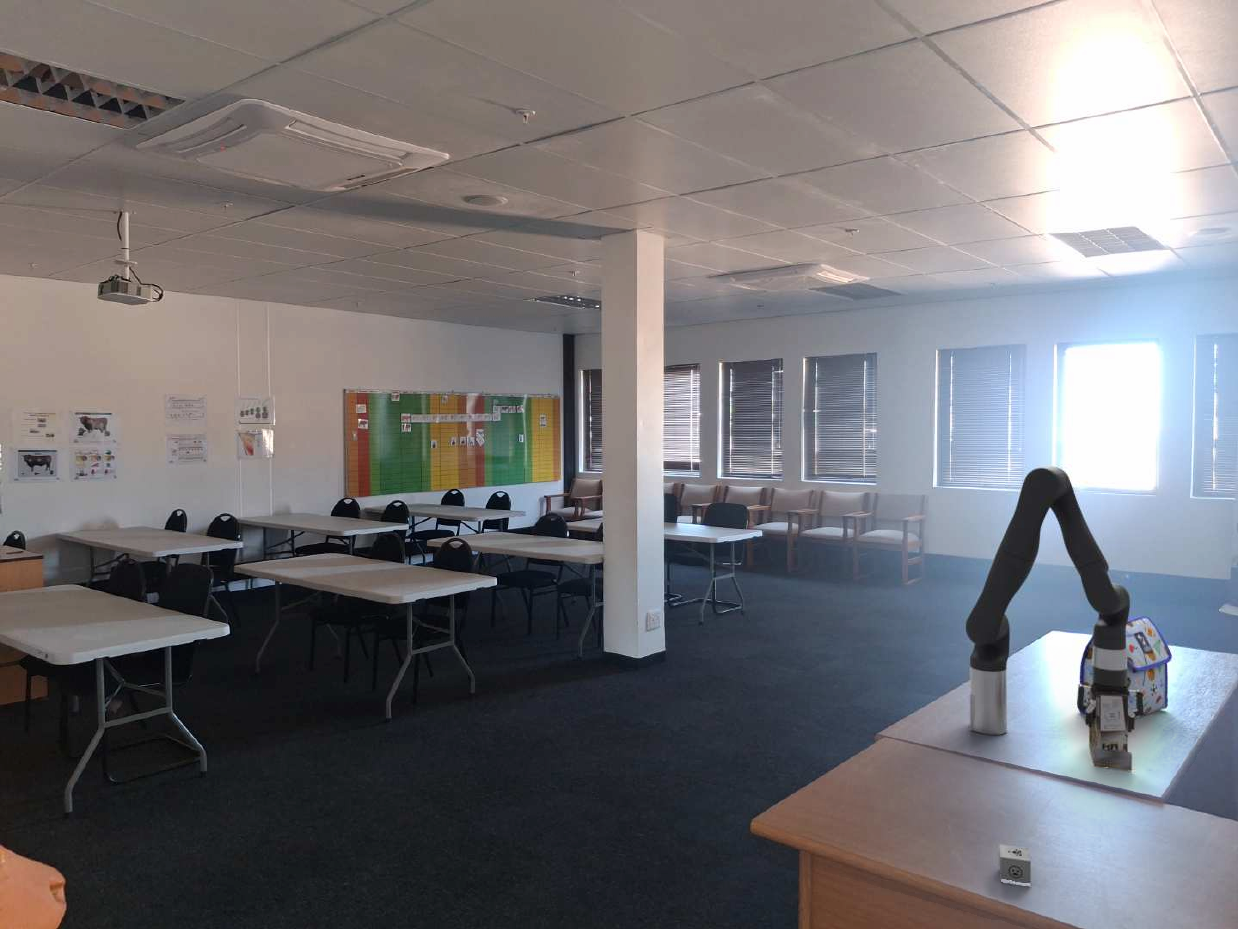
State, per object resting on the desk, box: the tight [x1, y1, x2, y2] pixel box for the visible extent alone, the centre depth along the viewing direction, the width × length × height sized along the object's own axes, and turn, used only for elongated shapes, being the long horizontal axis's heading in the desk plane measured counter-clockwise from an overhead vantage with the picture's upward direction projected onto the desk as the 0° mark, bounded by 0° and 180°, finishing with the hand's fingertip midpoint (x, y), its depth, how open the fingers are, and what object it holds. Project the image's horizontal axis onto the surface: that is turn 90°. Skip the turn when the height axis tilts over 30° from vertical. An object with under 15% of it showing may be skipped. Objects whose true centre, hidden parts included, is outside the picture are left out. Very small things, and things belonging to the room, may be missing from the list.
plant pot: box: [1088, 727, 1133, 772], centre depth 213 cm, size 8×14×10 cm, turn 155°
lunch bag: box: [1078, 615, 1173, 720], centre depth 244 cm, size 23×17×27 cm
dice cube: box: [998, 844, 1032, 884], centre depth 160 cm, size 5×5×5 cm
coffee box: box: [1089, 685, 1129, 752], centre depth 213 cm, size 9×6×16 cm
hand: (1109, 729), depth 213 cm, fingers open, 8 cm apart
